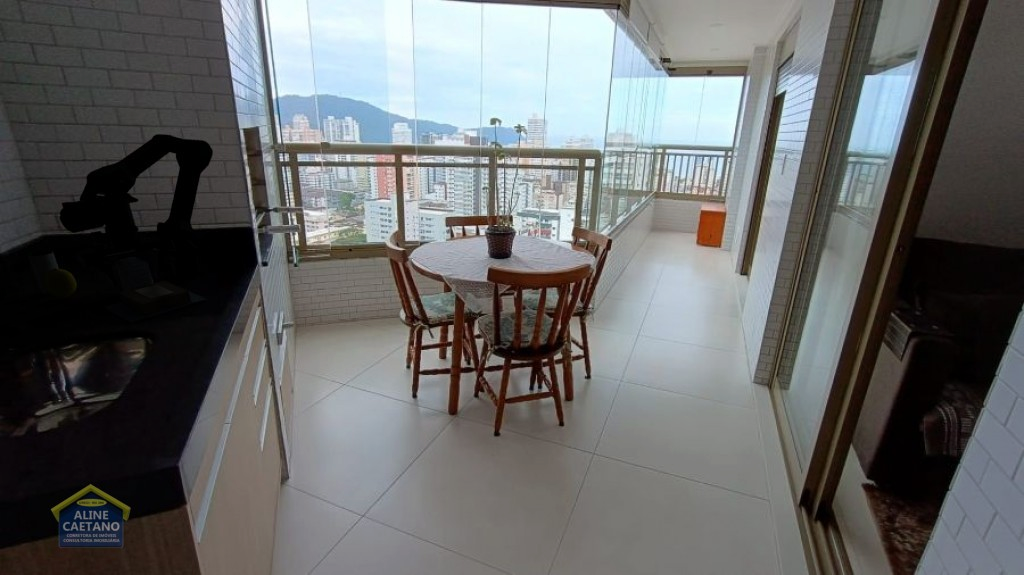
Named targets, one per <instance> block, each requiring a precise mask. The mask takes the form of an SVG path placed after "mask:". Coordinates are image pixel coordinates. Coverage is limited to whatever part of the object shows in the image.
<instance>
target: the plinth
mask: <svg viewBox="0 0 1024 575" xmlns="http://www.w3.org/2000/svg"><path fill="white" fill-rule="evenodd" d="M189 292H190V291H189V290H187V289H185V288H183V287H181V286H178V285H176V284H174V283H171V282H170V281H168V280H162V281H161V280H160V281H157V282H153V284H149V285H146V286H142V287H138V288H134V289H130V290H126V291H124V290H122V291H119V292H118V295H119V298H120V301H121V302H122V304H124V305H125V306H127V307H129V308H131V309H133V310H135V311H136V312H138V313H140V314H142V315H144V316H146V315H149V314H152V313H155V312H159V311H161V310H165V309H168V308H171V307H175V306H178V305H182V304H186V303H190V302H191V299H190V295H189ZM121 302H120V303H121Z"/></svg>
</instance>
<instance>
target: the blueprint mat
mask: <svg viewBox="0 0 1024 575" xmlns="http://www.w3.org/2000/svg"><path fill="white" fill-rule="evenodd" d="M189 295H190V299H191V302H192V303H193V302H199V301H203V300H207V298H205V297H203V296H201V295H198V294H195V293H194V292H191V291H189ZM191 302H190V303H191ZM190 303H189V304H190ZM104 308H105V309H106V310H108V312H111V313H113V314H114V315H116V316H117V317H119V316H120V318H121V317H122V318H121V319H123V318H124V319H125V320H124V319H123V320H124V321H126V320H127V321H126V322H128V321H129V322H128V323H130V322H131V323H132V322H135V321H138V320H140V319H143V318H145V317H144V315H142V314H140V313H138V312H136V311H135V310H133V309H131V308H129V307H127V306H125V305H124V304H122V302H118V303H114V304H111V305H106V306H105V307H104ZM142 316H143V317H142ZM131 323H130V324H131Z"/></svg>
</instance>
